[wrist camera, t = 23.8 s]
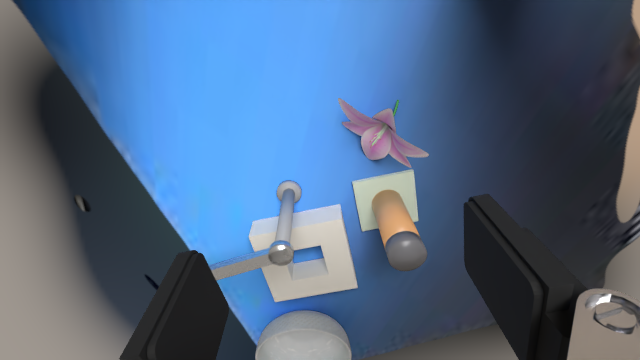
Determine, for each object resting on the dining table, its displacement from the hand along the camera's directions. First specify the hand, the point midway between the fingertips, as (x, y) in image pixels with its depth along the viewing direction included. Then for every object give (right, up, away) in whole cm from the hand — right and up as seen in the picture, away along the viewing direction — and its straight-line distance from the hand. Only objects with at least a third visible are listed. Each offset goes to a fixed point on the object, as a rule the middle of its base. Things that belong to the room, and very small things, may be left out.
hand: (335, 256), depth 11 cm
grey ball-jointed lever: (-10, -7, +26) cm, 29 cm away
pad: (+10, 0, +38) cm, 39 cm away
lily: (+7, +11, +32) cm, 35 cm away
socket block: (-3, -6, +41) cm, 41 cm away
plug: (+10, -1, +38) cm, 39 cm away
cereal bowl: (-4, -26, +51) cm, 58 cm away
